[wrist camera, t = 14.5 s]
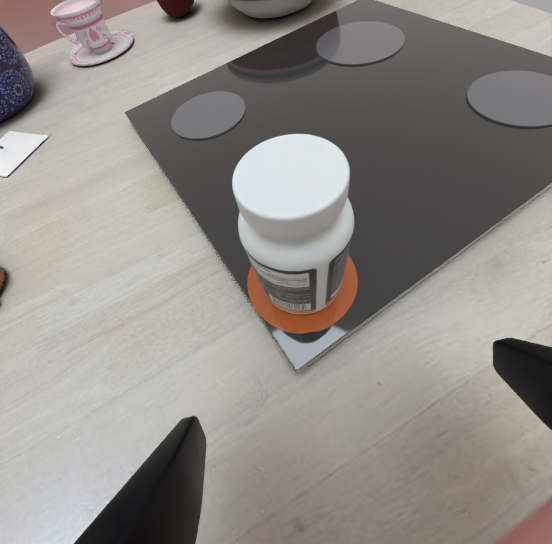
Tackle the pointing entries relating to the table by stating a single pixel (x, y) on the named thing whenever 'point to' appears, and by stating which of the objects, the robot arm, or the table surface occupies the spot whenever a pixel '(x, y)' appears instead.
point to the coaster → (16, 149)
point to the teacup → (90, 32)
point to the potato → (176, 7)
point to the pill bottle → (295, 219)
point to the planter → (13, 78)
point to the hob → (366, 148)
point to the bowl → (268, 7)
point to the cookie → (1, 277)
